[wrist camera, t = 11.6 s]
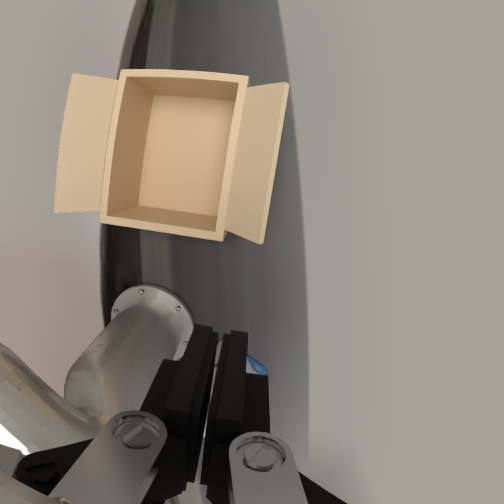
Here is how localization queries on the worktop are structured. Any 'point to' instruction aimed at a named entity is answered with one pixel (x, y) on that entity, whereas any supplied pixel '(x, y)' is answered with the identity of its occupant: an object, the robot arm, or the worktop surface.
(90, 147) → the flap
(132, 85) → the carton
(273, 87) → the flap
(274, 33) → the worktop surface
